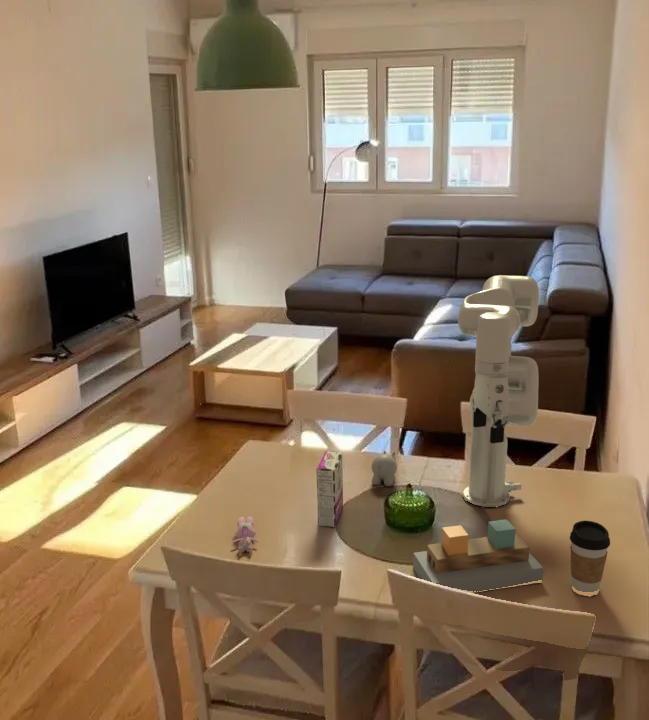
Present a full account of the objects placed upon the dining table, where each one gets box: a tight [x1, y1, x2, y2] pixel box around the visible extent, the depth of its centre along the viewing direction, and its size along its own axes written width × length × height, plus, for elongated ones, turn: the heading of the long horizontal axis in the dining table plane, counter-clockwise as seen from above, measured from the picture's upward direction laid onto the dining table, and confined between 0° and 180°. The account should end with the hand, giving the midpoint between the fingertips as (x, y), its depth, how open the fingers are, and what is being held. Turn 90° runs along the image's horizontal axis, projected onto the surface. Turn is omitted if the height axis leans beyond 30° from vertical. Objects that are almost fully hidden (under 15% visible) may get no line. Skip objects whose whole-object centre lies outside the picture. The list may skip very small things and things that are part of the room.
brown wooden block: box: [426, 532, 530, 574], centre depth 181 cm, size 22×6×4 cm, turn 103°
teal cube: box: [486, 519, 516, 549], centre depth 181 cm, size 4×4×4 cm
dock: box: [412, 550, 544, 594], centre depth 182 cm, size 26×13×4 cm, turn 103°
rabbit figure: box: [232, 516, 259, 557], centre depth 197 cm, size 6×6×15 cm
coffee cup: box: [569, 520, 611, 592], centre depth 174 cm, size 8×8×15 cm
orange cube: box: [440, 524, 469, 555], centre depth 179 cm, size 4×4×4 cm
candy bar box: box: [315, 450, 344, 528], centre depth 207 cm, size 11×5×16 cm, turn 168°
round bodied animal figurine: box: [371, 450, 398, 487], centre depth 229 cm, size 7×12×8 cm, turn 159°
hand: (487, 434), depth 190 cm, fingers open, 9 cm apart
